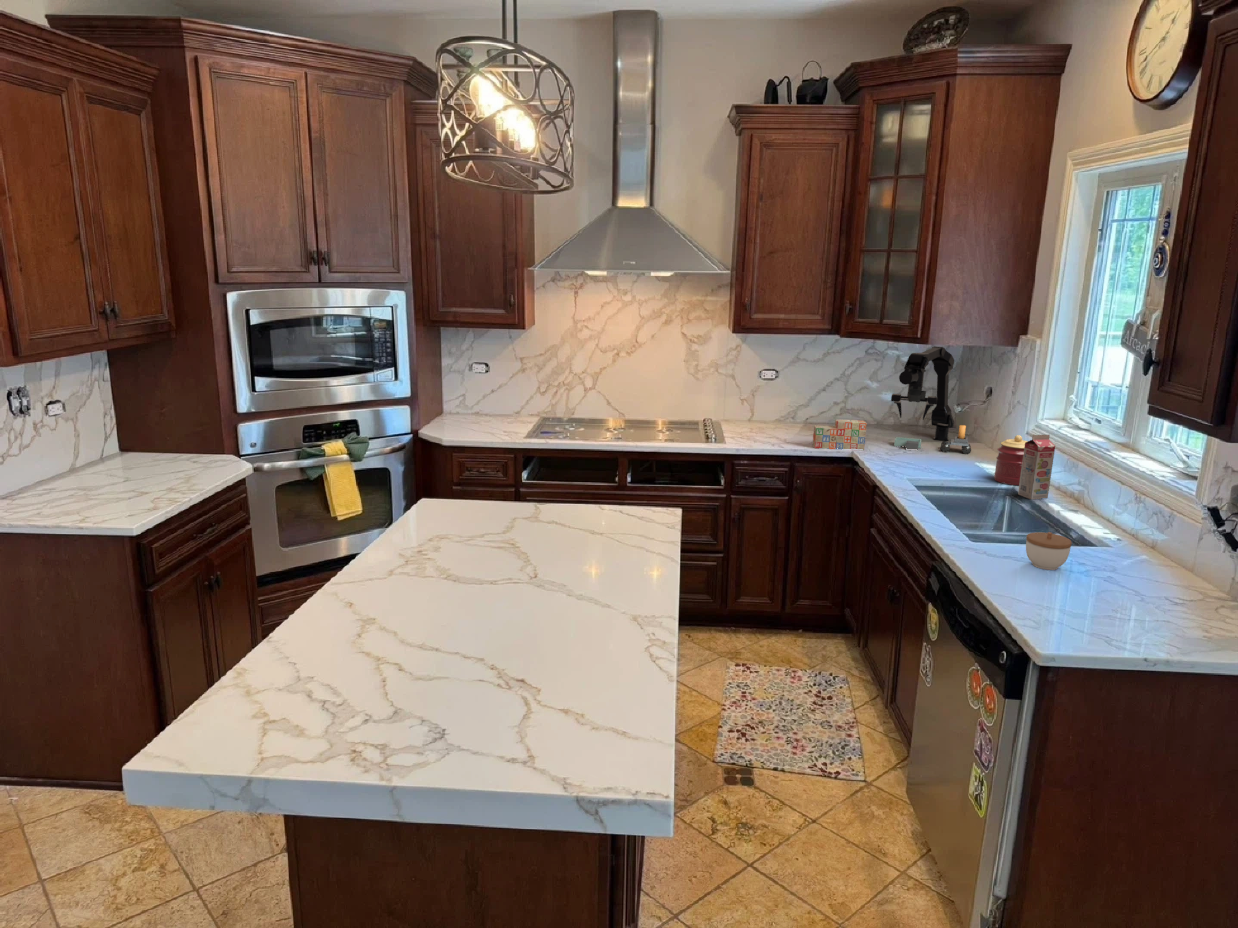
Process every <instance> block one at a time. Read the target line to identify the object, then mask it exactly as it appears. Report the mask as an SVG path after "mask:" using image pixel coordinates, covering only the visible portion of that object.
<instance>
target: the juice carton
mask: <svg viewBox="0 0 1238 928" xmlns="http://www.w3.org/2000/svg"><path fill="white" fill-rule="evenodd" d="M1031 437H1032V439H1030V440H1027V441H1028V442H1026V443H1025V447H1024V454H1023V462H1022V469H1021V476H1020V483H1019V485H1018V486H1019V487H1018V492H1017V493H1018V494H1017V495H1019V496H1021V497H1024V498H1026V499H1030V500H1042V499H1041V498H1049V492H1050V483H1051V478H1052V477H1051V476H1052V472H1053V464H1054V458H1055V452H1056V445H1055V444H1054V443H1053V442H1052V440H1050V434H1033V435H1032V436H1031Z"/></svg>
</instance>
